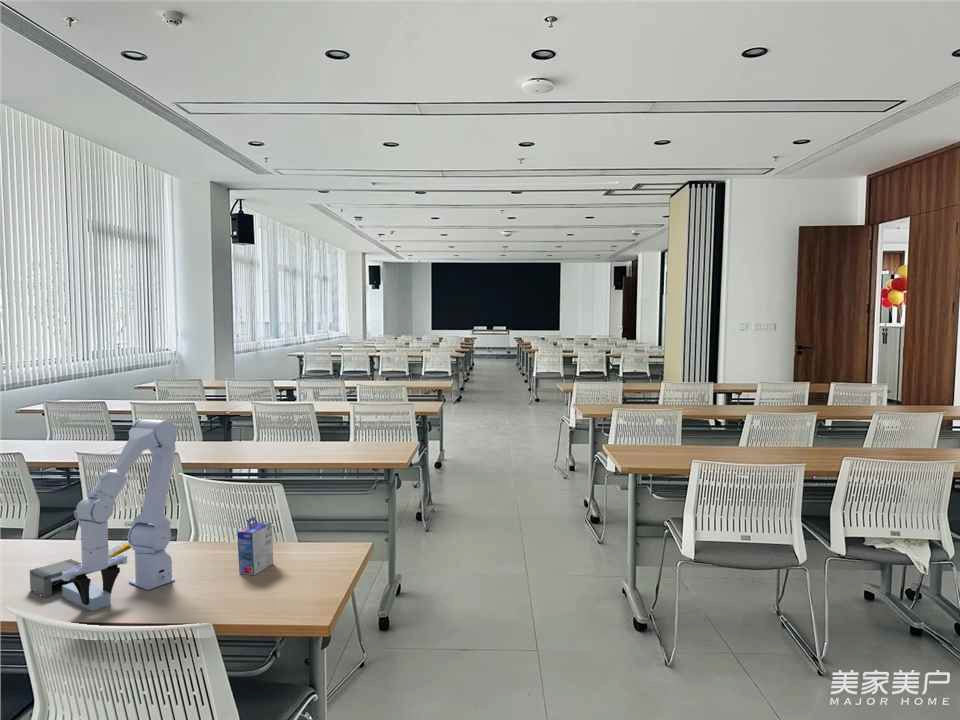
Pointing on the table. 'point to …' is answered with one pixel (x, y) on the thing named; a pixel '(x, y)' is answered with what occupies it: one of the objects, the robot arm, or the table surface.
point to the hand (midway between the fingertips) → (96, 600)
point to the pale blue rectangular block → (96, 596)
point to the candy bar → (118, 549)
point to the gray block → (49, 576)
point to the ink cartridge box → (255, 547)
